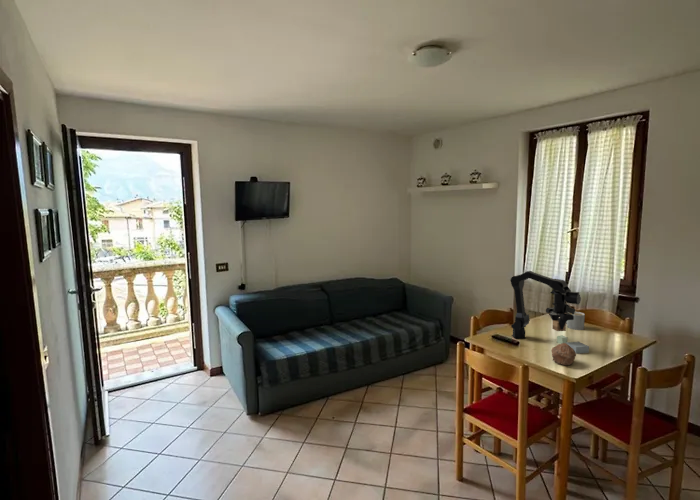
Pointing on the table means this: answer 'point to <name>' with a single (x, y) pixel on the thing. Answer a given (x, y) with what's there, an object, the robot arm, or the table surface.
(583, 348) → the base block
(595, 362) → the table surface
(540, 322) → the table surface
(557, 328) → the walnut cube
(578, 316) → the coffee mug
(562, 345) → the decorative rock
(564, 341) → the sage block
